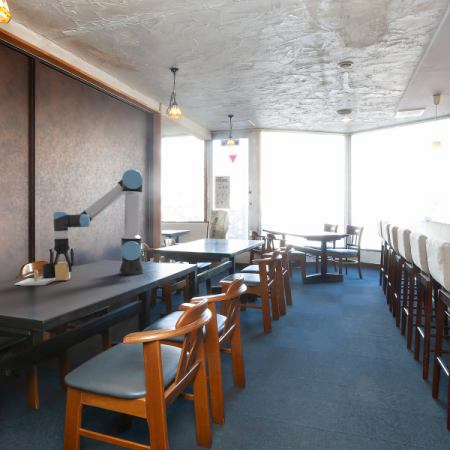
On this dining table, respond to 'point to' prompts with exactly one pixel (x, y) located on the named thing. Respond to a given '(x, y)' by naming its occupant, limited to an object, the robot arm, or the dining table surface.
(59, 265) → the tan rectangular block
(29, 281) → the junction board
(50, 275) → the mug
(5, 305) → the dining table surface
